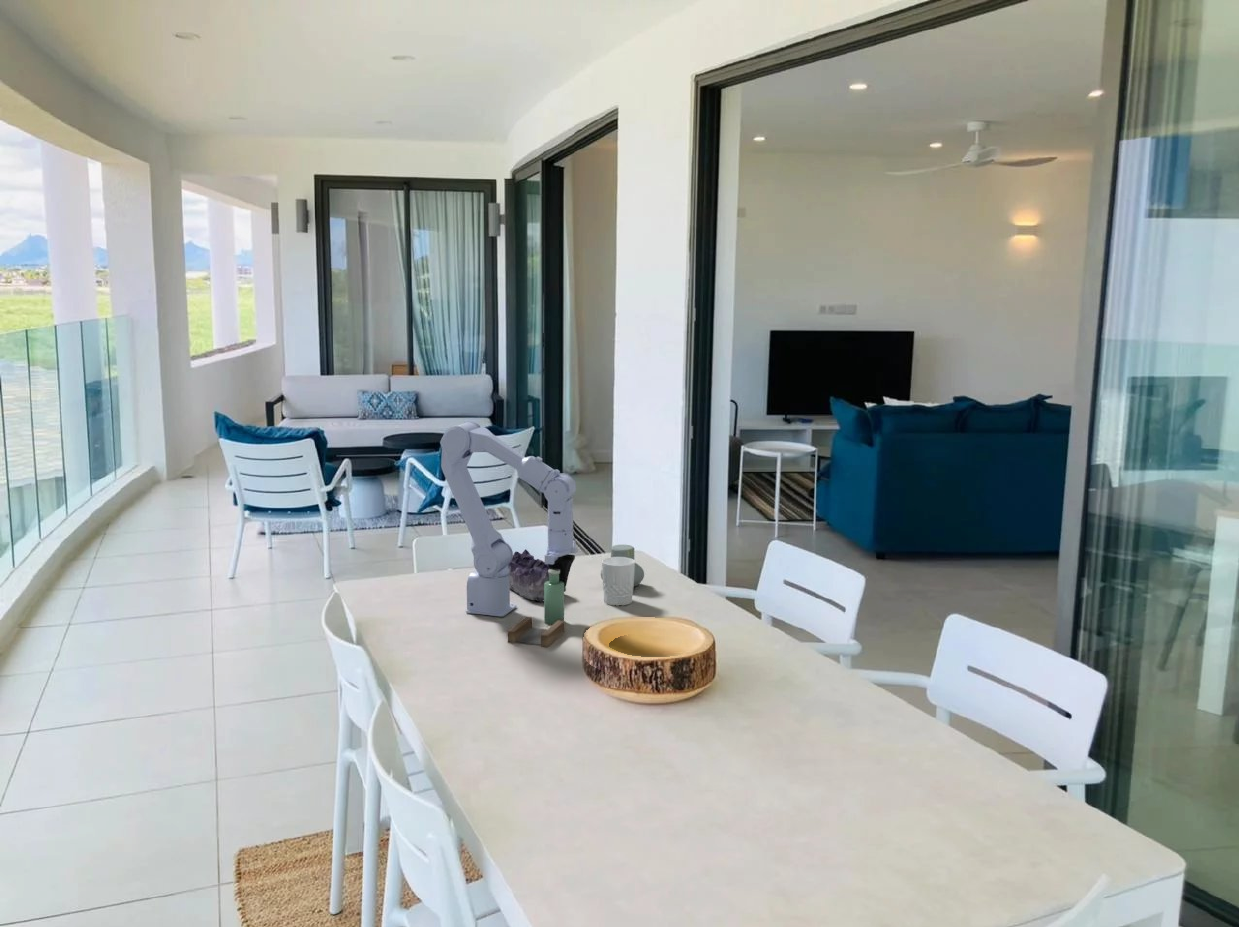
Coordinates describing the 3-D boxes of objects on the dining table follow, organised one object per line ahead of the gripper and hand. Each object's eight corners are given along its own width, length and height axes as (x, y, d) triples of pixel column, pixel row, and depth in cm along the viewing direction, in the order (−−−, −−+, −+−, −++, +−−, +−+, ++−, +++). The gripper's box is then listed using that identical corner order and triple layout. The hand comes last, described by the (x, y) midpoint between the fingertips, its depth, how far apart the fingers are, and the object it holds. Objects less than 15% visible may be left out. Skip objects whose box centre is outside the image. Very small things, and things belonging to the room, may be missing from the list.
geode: (487, 586, 253) (490, 547, 253) (526, 585, 260) (529, 546, 260) (531, 603, 237) (535, 561, 237) (571, 601, 244) (575, 560, 244)
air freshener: (649, 585, 255) (649, 546, 253) (632, 593, 248) (632, 553, 246) (612, 578, 261) (613, 540, 259) (595, 586, 254) (595, 547, 252)
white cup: (634, 607, 237) (635, 565, 236) (601, 606, 237) (601, 565, 236) (634, 596, 245) (635, 556, 243) (602, 596, 245) (602, 556, 244)
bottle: (541, 624, 225) (541, 571, 223) (548, 618, 229) (548, 566, 227) (559, 626, 223) (559, 573, 221) (566, 620, 227) (566, 568, 225)
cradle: (507, 642, 213) (507, 630, 212) (526, 627, 222) (526, 616, 222) (547, 647, 210) (547, 635, 210) (564, 631, 220) (564, 620, 219)
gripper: (565, 537, 218) (565, 598, 221) (588, 523, 232) (587, 580, 234) (535, 535, 220) (535, 594, 223) (559, 520, 234) (559, 577, 236)
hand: (560, 587), depth 229 cm, fingers closed
